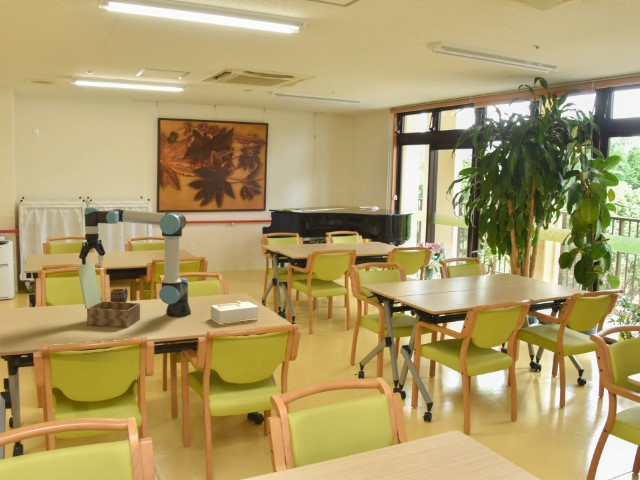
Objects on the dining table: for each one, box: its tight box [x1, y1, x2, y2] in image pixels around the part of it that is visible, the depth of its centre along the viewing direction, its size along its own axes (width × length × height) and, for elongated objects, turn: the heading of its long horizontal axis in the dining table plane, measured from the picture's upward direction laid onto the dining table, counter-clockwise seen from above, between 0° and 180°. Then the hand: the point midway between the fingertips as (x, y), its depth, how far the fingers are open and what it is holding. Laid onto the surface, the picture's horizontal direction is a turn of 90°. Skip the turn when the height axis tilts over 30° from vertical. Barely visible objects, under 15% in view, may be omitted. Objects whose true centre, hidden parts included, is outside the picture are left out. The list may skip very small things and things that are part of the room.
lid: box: [77, 261, 102, 310], centre depth 343 cm, size 24×18×1 cm
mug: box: [109, 287, 129, 303], centre depth 366 cm, size 16×11×15 cm
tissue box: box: [210, 300, 259, 323], centre depth 359 cm, size 14×25×11 cm, turn 122°
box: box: [86, 300, 141, 329], centre depth 344 cm, size 24×18×10 cm
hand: (92, 267), depth 354 cm, fingers open, 13 cm apart
